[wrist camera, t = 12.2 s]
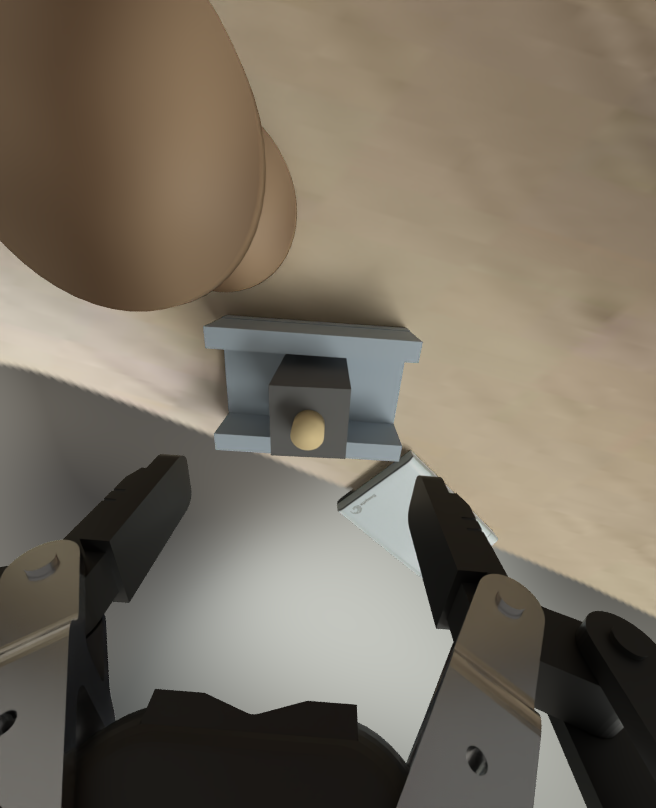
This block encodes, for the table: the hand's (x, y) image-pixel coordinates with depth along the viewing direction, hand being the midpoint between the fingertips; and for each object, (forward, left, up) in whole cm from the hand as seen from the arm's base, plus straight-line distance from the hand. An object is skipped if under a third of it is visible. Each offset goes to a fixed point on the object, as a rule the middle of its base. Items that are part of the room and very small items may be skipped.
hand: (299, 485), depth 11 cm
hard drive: (-10, +13, -13) cm, 21 cm away
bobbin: (+6, -10, -12) cm, 17 cm away
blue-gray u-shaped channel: (0, 0, -12) cm, 12 cm away
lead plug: (0, 0, -11) cm, 11 cm away
